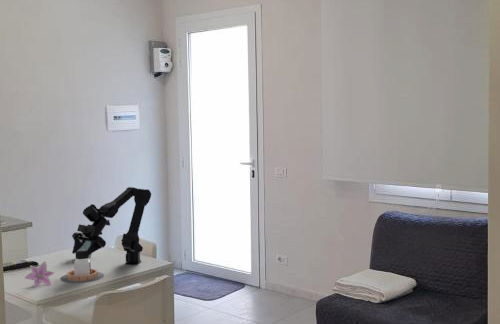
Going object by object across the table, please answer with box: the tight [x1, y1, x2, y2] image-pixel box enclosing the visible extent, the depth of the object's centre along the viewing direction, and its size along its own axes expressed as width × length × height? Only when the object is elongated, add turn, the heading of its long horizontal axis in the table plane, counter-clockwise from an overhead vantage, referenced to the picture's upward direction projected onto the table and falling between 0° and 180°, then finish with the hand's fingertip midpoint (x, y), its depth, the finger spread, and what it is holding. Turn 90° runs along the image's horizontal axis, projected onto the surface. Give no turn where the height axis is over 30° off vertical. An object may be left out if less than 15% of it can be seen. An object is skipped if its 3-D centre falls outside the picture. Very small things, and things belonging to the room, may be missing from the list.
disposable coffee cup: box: [74, 230, 93, 259], centre depth 320 cm, size 11×11×15 cm
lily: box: [24, 260, 55, 288], centre depth 270 cm, size 12×12×10 cm
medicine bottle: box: [73, 250, 92, 276], centre depth 281 cm, size 7×7×12 cm
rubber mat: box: [59, 271, 105, 284], centre depth 281 cm, size 20×20×1 cm
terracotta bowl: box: [66, 268, 99, 281], centre depth 281 cm, size 14×14×2 cm
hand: (79, 254), depth 279 cm, fingers open, 9 cm apart
